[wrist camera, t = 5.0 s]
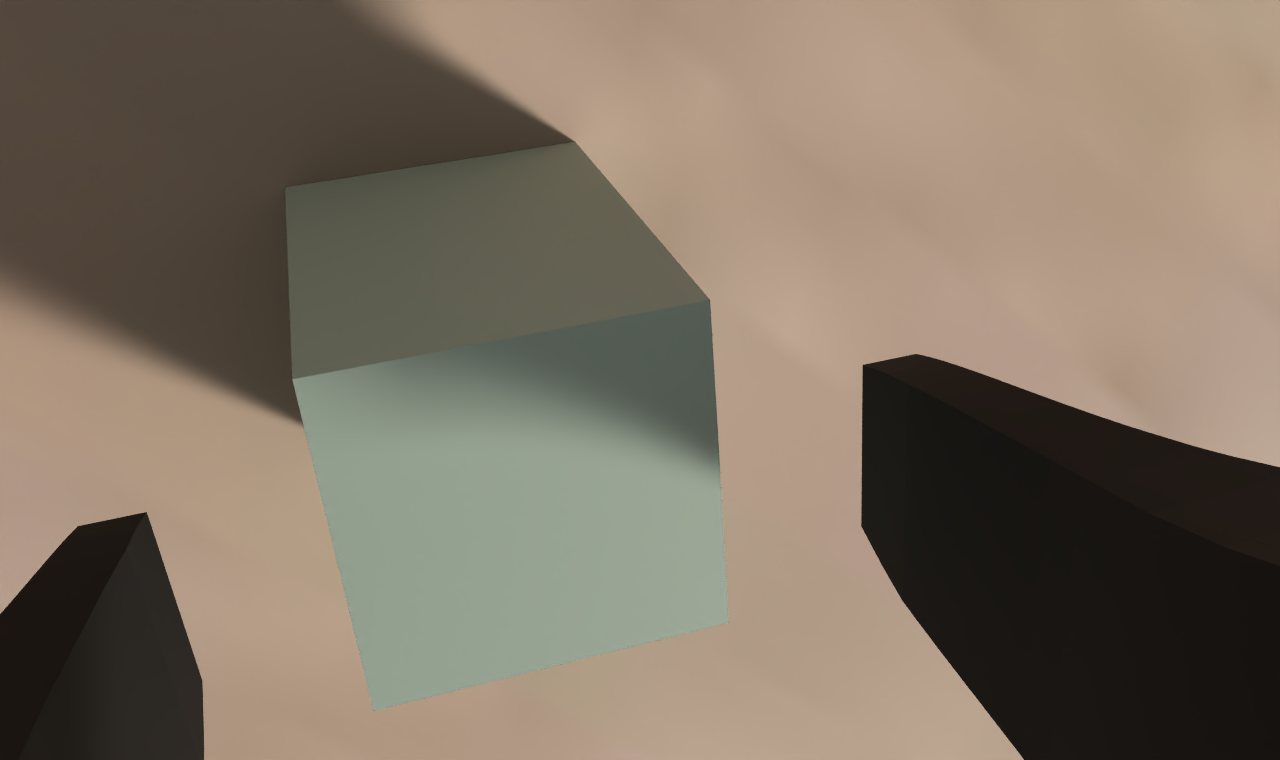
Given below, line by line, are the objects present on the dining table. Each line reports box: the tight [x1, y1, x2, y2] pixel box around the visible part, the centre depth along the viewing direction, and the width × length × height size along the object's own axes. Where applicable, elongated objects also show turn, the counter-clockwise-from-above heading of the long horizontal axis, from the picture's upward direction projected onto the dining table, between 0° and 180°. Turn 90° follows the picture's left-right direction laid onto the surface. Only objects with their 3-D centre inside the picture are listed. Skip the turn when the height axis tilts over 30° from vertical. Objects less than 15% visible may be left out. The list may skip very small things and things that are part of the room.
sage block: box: [285, 142, 729, 711], centre depth 15 cm, size 4×4×6 cm
